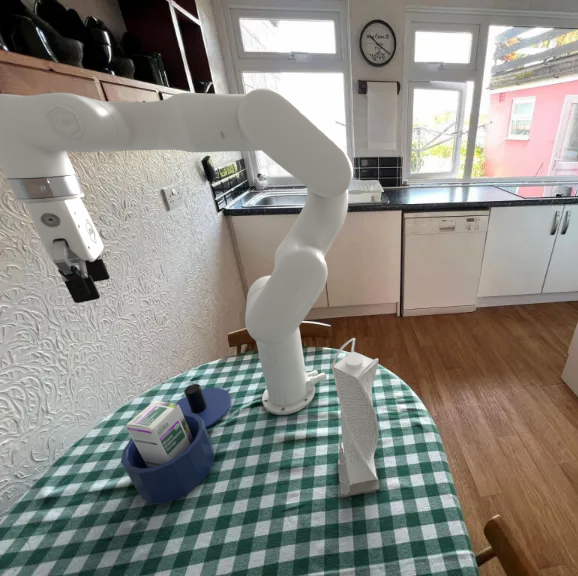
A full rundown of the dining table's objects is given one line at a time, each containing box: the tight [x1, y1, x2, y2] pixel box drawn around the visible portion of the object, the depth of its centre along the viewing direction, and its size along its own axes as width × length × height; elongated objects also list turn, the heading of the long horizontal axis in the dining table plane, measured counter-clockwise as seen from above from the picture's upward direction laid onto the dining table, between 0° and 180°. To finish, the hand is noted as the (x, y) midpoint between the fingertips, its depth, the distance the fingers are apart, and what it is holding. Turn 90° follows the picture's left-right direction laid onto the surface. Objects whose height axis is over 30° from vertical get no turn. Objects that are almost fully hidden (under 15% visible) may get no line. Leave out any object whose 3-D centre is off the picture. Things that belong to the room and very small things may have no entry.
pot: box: [120, 412, 215, 505], centre depth 59 cm, size 13×13×8 cm
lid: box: [175, 383, 232, 429], centre depth 72 cm, size 14×14×7 cm
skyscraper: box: [331, 337, 380, 498], centre depth 54 cm, size 8×8×28 cm
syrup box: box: [125, 400, 194, 468], centre depth 57 cm, size 6×6×14 cm
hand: (94, 289), depth 55 cm, fingers open, 9 cm apart
